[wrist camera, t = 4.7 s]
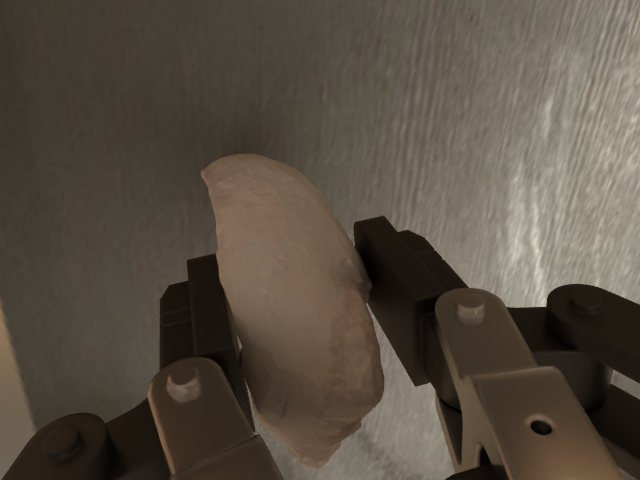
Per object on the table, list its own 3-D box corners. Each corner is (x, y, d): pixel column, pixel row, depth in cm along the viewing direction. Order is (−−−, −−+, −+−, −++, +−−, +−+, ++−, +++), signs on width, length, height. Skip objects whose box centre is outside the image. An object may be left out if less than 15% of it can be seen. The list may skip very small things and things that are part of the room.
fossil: (175, 120, 16) (193, 320, 7) (287, 88, 16) (425, 242, 8) (233, 276, 19) (292, 544, 10) (326, 245, 19) (456, 479, 11)
